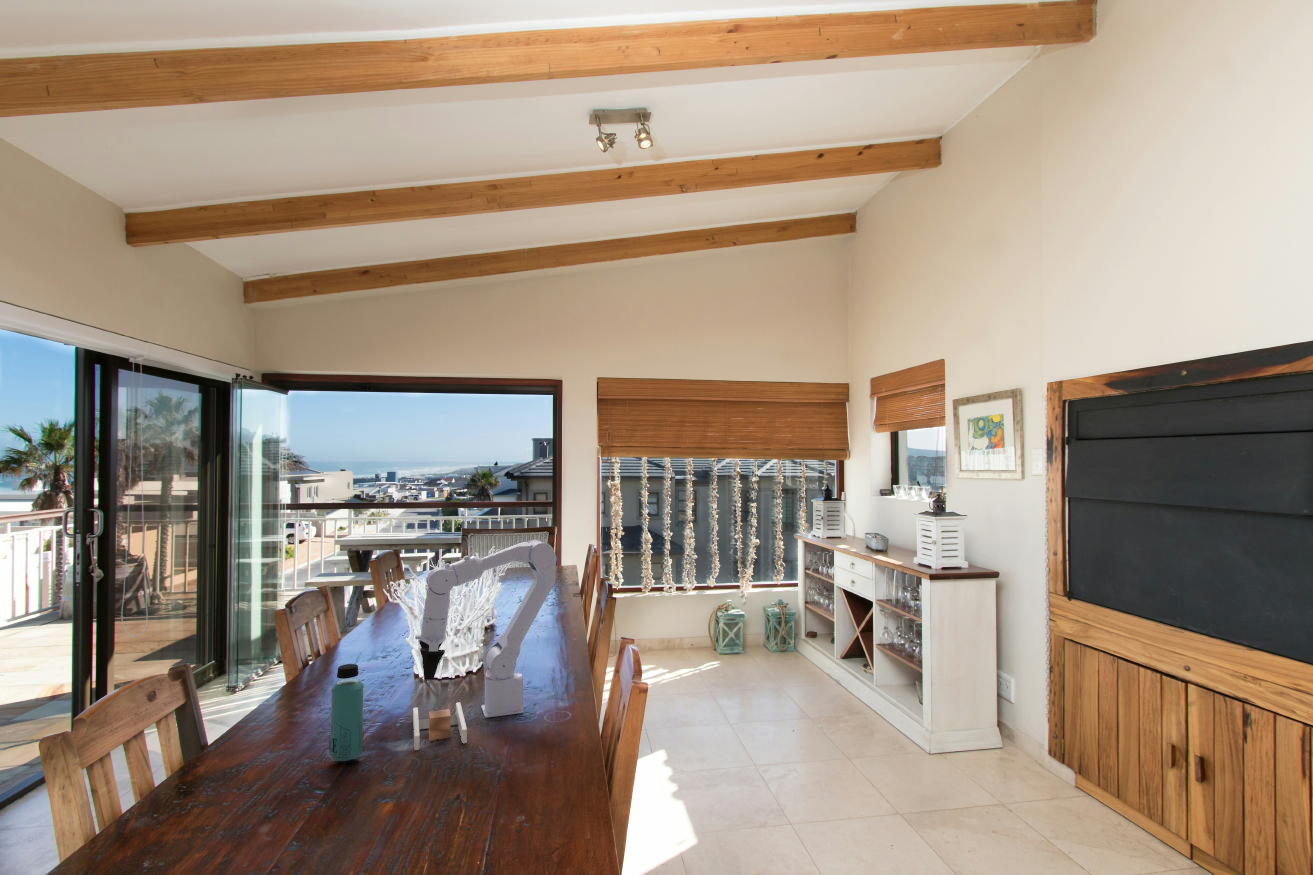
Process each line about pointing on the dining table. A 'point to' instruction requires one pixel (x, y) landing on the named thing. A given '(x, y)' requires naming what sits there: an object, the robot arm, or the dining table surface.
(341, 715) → the beverage bottle
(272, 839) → the dining table surface
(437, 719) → the block
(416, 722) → the channel
